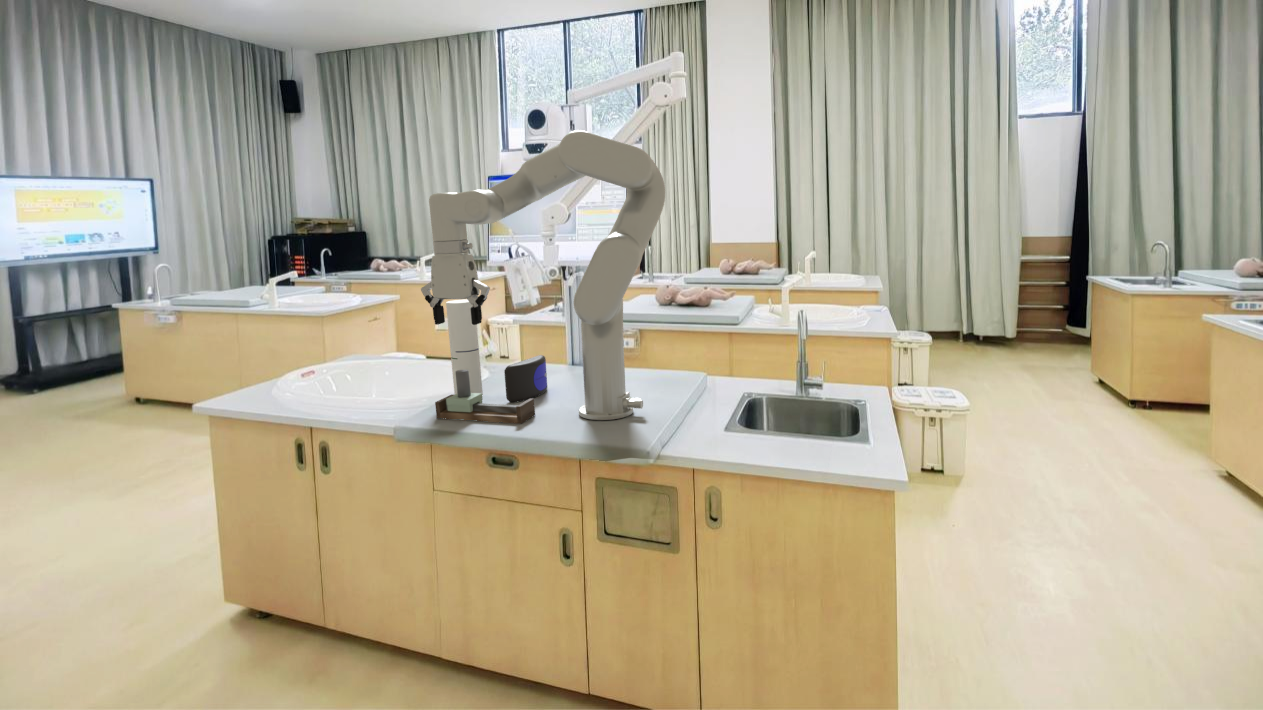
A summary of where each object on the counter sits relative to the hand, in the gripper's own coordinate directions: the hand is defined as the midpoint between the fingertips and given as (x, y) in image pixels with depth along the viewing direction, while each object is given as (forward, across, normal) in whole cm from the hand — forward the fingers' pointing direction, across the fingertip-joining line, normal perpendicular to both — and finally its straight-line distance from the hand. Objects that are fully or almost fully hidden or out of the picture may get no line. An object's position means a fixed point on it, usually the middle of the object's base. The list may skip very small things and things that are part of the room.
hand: (458, 323), depth 167 cm
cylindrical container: (+22, +9, -16) cm, 29 cm away
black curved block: (+22, -6, -20) cm, 30 cm away
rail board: (+22, -5, 0) cm, 23 cm away
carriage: (+20, 0, 0) cm, 20 cm away
